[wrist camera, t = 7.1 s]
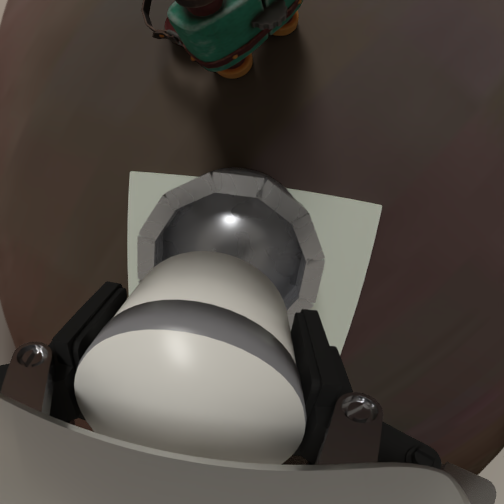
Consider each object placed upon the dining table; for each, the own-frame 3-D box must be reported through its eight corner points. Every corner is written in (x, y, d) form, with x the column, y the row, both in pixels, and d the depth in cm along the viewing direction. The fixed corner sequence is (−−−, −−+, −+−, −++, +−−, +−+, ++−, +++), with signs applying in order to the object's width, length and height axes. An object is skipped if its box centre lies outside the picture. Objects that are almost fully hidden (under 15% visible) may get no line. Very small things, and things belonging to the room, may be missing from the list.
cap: (304, 262, 10) (339, 351, 6) (274, 391, 12) (280, 488, 8) (130, 239, 10) (50, 306, 5) (137, 370, 12) (98, 458, 7)
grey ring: (318, 179, 20) (339, 190, 15) (292, 310, 23) (301, 355, 18) (170, 160, 20) (141, 165, 14) (163, 293, 23) (140, 333, 18)
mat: (380, 204, 21) (382, 206, 20) (329, 377, 26) (330, 380, 26) (132, 171, 20) (129, 171, 20) (134, 352, 25) (133, 355, 25)
